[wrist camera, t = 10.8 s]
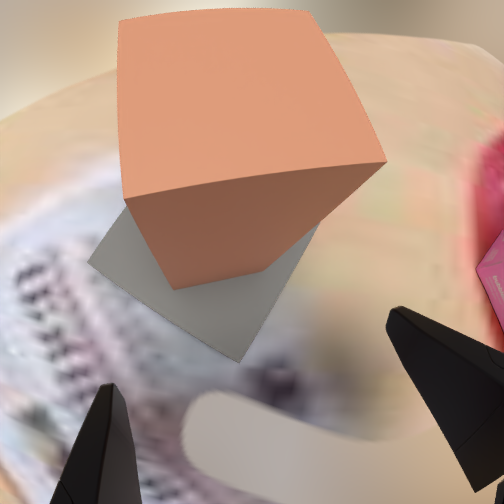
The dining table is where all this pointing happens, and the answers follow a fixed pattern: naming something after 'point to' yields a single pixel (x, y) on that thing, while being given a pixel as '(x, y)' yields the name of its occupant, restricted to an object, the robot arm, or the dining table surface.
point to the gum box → (494, 276)
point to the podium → (196, 289)
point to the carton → (234, 136)
